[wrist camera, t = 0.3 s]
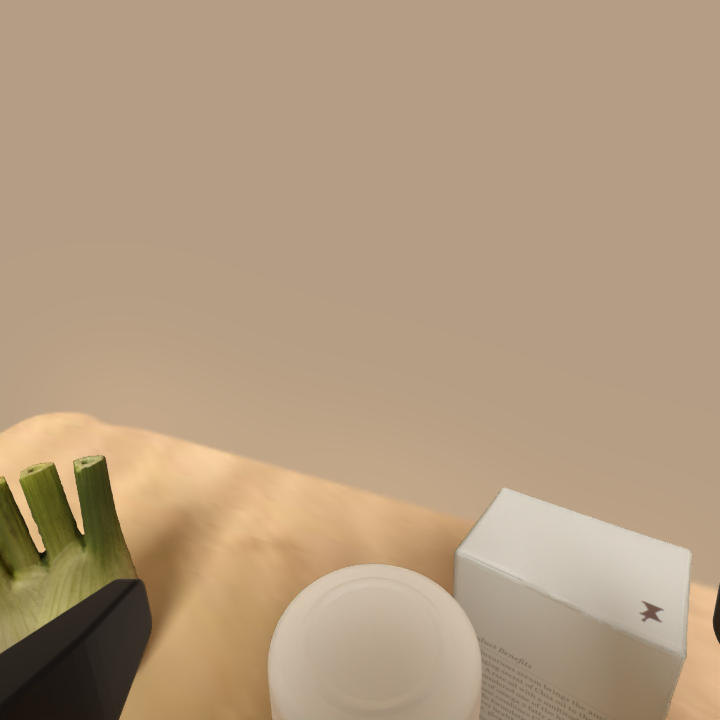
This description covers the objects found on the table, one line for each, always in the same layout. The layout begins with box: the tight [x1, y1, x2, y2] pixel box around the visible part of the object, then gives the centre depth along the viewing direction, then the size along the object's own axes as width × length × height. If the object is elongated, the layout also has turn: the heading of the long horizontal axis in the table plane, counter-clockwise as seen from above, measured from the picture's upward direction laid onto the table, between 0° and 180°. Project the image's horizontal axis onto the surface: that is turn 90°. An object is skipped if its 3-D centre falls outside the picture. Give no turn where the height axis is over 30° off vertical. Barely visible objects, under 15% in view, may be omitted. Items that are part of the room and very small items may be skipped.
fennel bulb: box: [0, 455, 138, 653], centre depth 21 cm, size 6×5×12 cm
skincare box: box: [453, 487, 692, 720], centre depth 16 cm, size 6×4×12 cm
